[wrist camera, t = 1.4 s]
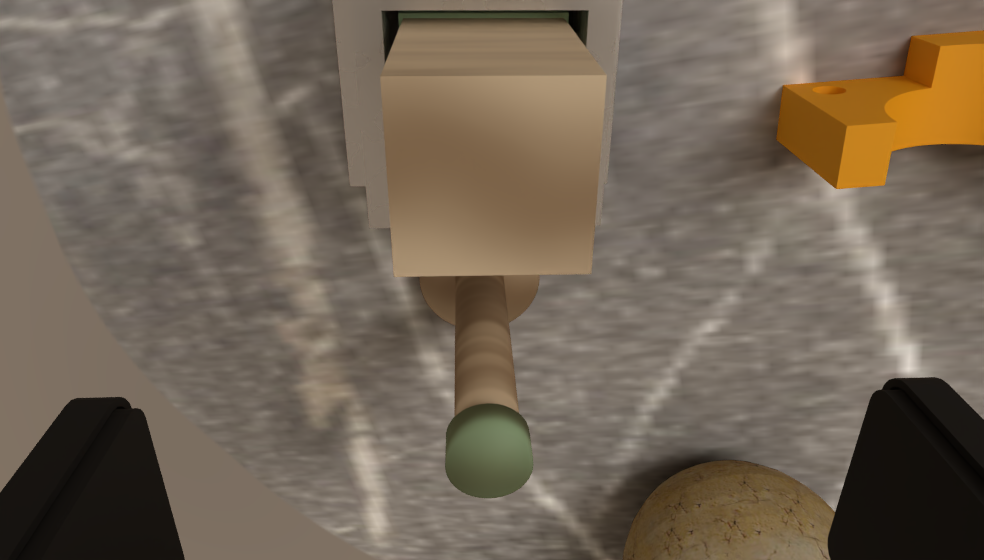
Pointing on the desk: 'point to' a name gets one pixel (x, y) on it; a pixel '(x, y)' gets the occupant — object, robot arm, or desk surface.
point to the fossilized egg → (730, 517)
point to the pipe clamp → (888, 111)
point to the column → (491, 143)
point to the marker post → (484, 381)
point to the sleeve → (365, 48)
